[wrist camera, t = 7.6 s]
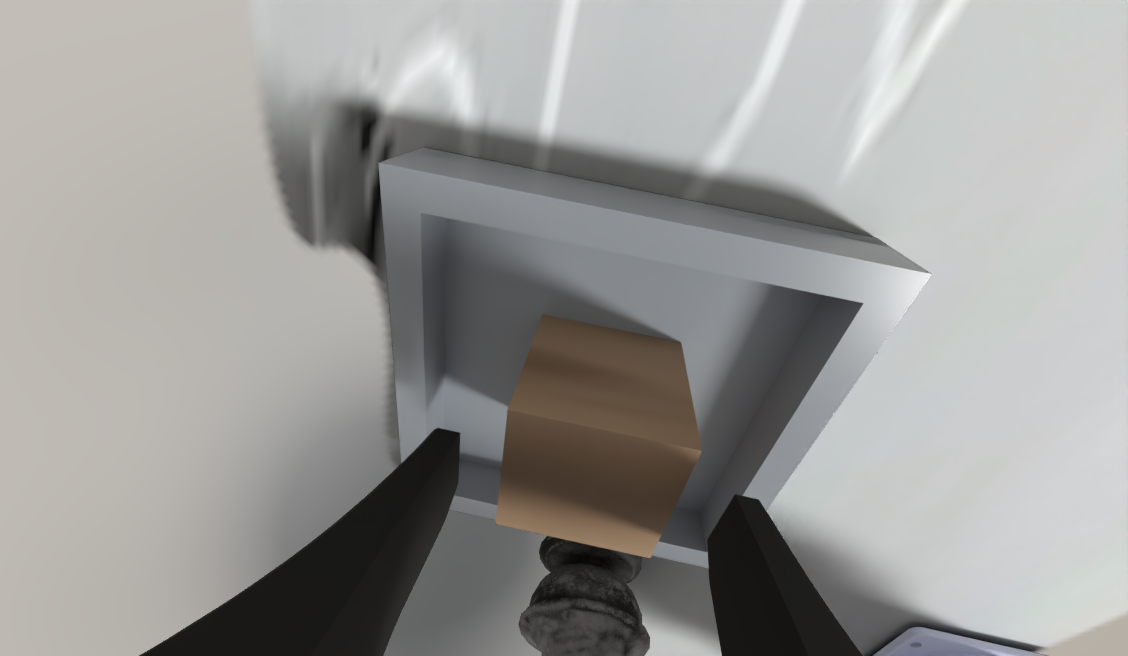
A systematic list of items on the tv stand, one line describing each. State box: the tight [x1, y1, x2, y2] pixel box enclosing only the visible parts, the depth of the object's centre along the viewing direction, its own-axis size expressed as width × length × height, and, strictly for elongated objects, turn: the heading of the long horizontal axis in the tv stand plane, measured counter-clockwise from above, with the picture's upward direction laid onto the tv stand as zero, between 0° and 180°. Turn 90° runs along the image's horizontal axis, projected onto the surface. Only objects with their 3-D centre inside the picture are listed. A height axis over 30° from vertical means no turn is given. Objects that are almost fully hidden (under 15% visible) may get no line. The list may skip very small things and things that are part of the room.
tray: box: [378, 147, 932, 569], centre depth 14 cm, size 13×13×2 cm
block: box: [496, 314, 702, 558], centre depth 13 cm, size 4×4×4 cm
